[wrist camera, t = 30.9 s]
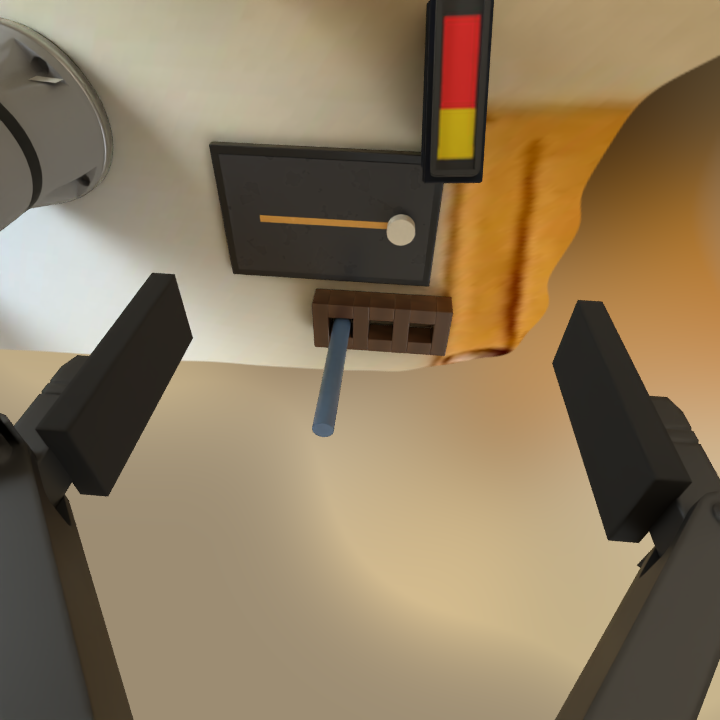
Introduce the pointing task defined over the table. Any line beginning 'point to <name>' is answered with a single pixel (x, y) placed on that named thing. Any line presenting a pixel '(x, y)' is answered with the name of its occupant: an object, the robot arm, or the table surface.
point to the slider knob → (401, 229)
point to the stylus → (332, 379)
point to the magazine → (455, 90)
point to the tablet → (325, 212)
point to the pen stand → (384, 309)
